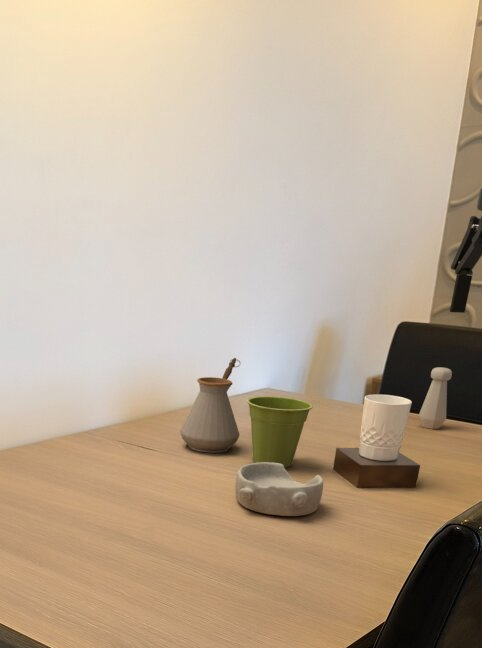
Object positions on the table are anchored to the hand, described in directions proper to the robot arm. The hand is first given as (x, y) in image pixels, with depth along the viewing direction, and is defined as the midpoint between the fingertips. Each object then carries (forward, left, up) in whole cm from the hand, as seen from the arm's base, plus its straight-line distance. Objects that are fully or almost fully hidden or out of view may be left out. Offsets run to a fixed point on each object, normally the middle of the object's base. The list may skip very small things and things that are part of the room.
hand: (476, 317), depth 150 cm
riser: (+20, +11, -27) cm, 35 cm away
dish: (+43, +25, -27) cm, 57 cm away
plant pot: (+36, +2, -27) cm, 45 cm away
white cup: (+20, +11, -23) cm, 32 cm away
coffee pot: (+43, -13, -27) cm, 52 cm away
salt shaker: (-11, -27, -27) cm, 40 cm away
